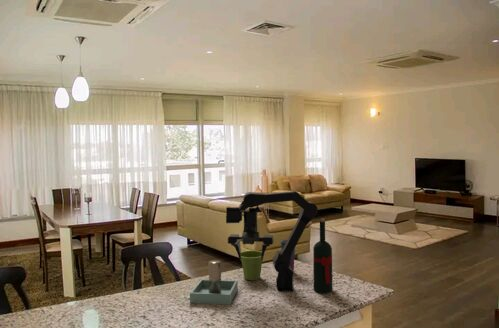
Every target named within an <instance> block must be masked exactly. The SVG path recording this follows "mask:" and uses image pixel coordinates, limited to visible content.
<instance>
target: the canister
mask: <svg viewBox="0 0 499 328" xmlns="http://www.w3.org/2000/svg"><path fill="white" fill-rule="evenodd" d="M208 280H209V293H217V294H221V280H222V261H221V260H209V261H208Z"/></svg>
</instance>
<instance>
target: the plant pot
mask: <svg viewBox="0 0 499 328" xmlns="http://www.w3.org/2000/svg"><path fill="white" fill-rule="evenodd" d="M265 254H266V252H265V253H264V256H265ZM261 255H262V250H261V251H260V250H244V251H241V260H240V261H241V265H242V266H241V267H242V270H243V271H242V272H243V277H244V279H245V280H248V281H258V280H259V279H260V278H261V273H262V266H263V260H264V259H263V260H261Z"/></svg>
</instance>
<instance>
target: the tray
mask: <svg viewBox="0 0 499 328" xmlns="http://www.w3.org/2000/svg"><path fill="white" fill-rule="evenodd" d="M238 285H239V284H238V280H229V279H228V280H225V279H221V294H217V293H209V279H200V280H199V281H198V282H197V284H196V285H195V286H194V287H193V289H191V291H190V292H189V303H190V304H191V303H192V304H208V305H209V304H211V305H212V304H213V305H231V304H232V302H233V300H234V298H235V295H236V294H237V292H238Z"/></svg>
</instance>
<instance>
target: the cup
mask: <svg viewBox="0 0 499 328" xmlns="http://www.w3.org/2000/svg"><path fill="white" fill-rule="evenodd" d="M287 240H288V239H282V240H280V246H281V248H280V249H281V250H282V249H283V247H284V246H285V244H286V242H287ZM281 250H280V251H281ZM295 253H296V248H295V249H294V251H293V252H292V255H291V260H290V264H289V266H290V267H291V269H292V270H293V272H295V271H294V270H295Z"/></svg>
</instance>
